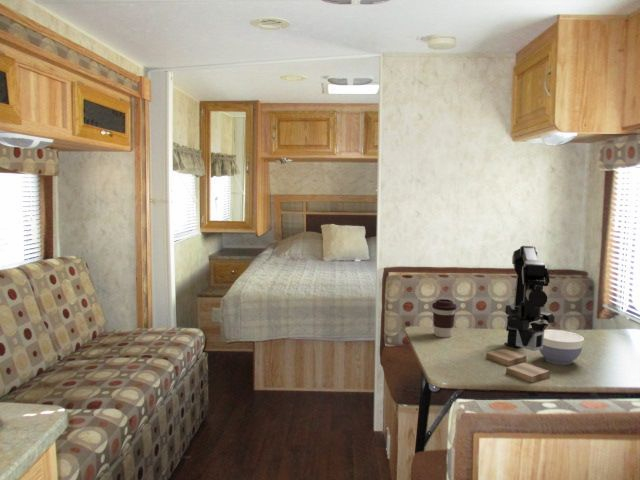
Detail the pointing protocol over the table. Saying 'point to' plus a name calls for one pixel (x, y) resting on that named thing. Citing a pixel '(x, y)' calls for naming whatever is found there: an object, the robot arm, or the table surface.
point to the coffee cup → (443, 317)
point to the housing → (532, 340)
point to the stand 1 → (506, 357)
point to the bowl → (561, 346)
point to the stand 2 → (527, 372)
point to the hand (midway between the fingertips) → (529, 344)
